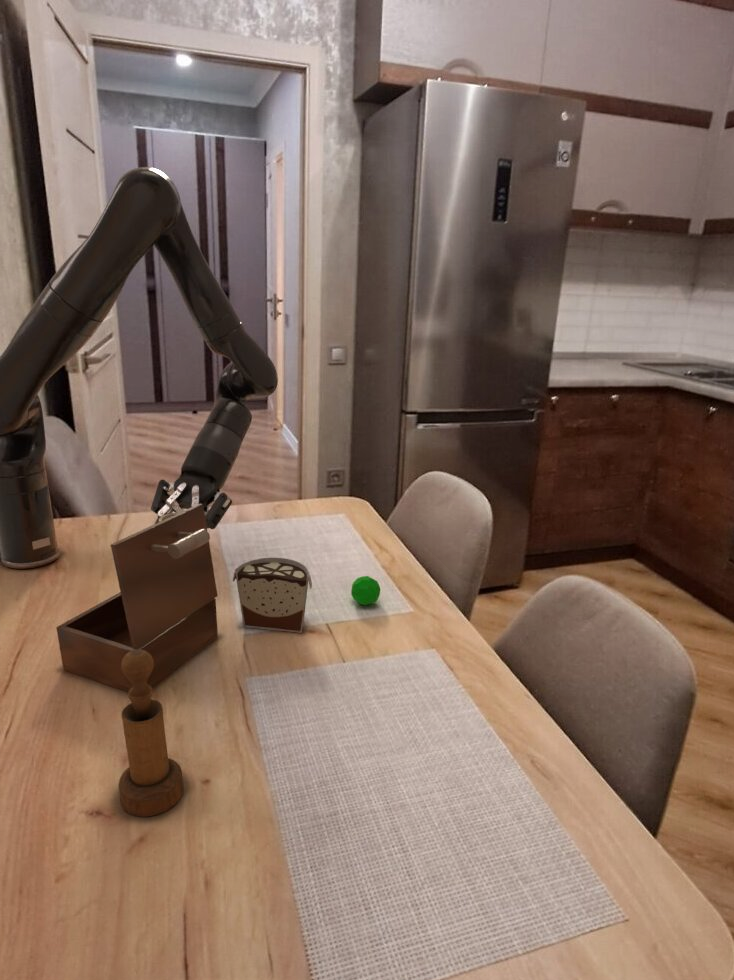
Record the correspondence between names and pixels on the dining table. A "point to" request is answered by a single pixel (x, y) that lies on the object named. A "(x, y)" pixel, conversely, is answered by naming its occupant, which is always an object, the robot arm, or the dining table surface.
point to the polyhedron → (365, 590)
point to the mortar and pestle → (146, 746)
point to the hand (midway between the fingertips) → (170, 543)
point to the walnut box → (106, 640)
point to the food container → (273, 593)
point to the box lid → (164, 573)
